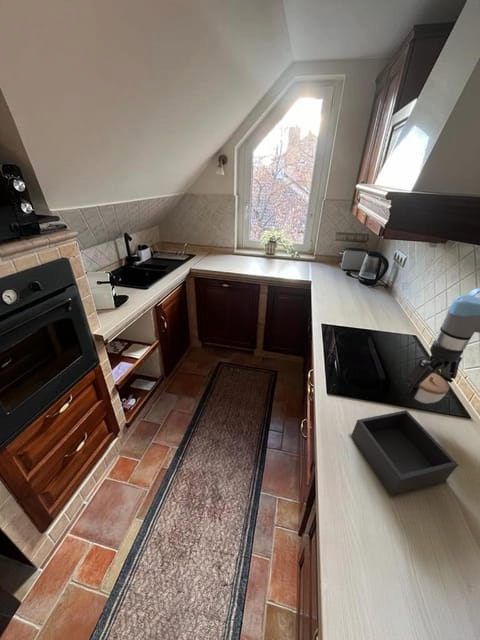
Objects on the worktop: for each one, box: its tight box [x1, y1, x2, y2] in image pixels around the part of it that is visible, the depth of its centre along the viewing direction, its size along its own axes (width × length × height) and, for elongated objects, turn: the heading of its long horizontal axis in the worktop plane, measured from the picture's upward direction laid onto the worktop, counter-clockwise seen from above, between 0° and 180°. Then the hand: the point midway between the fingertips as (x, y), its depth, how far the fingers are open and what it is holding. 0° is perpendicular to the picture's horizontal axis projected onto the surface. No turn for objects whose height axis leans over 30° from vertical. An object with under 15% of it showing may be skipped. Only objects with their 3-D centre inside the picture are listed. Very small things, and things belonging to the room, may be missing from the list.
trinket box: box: [414, 372, 450, 404], centre depth 87 cm, size 11×11×9 cm
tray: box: [350, 409, 459, 496], centre depth 75 cm, size 18×18×8 cm
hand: (422, 395), depth 89 cm, fingers closed on trinket box, 11 cm apart
